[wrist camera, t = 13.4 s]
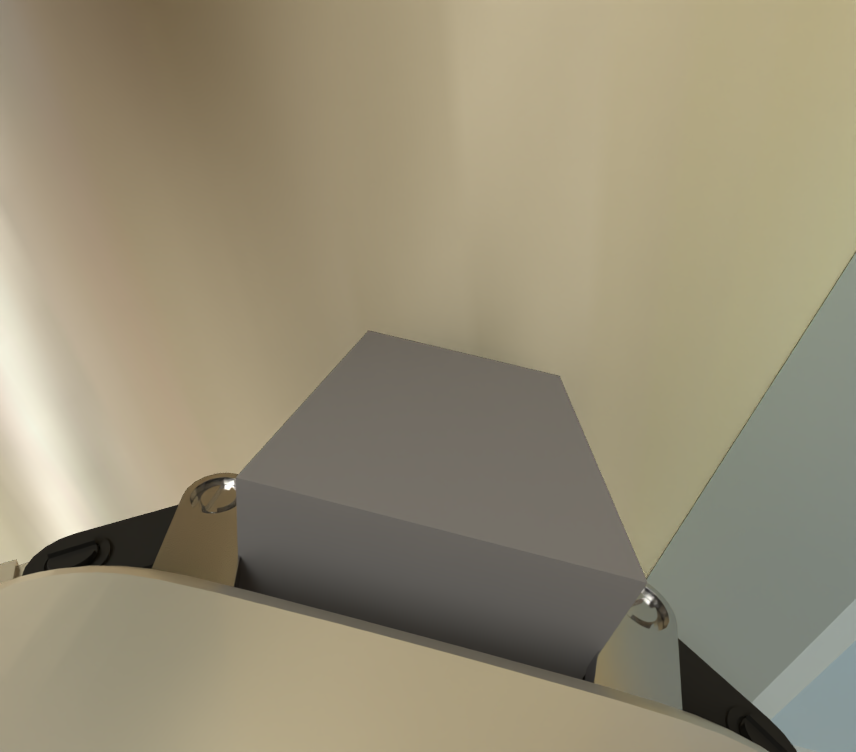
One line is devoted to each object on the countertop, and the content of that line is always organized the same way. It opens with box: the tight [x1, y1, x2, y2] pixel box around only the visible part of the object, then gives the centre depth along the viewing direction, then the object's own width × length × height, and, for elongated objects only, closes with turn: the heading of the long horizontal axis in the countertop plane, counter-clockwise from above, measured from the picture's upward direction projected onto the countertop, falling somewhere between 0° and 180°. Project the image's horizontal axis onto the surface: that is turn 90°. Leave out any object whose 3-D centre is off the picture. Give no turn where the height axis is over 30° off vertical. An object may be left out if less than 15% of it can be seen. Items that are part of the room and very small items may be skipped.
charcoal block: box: [236, 331, 647, 680], centre depth 10 cm, size 6×6×7 cm
